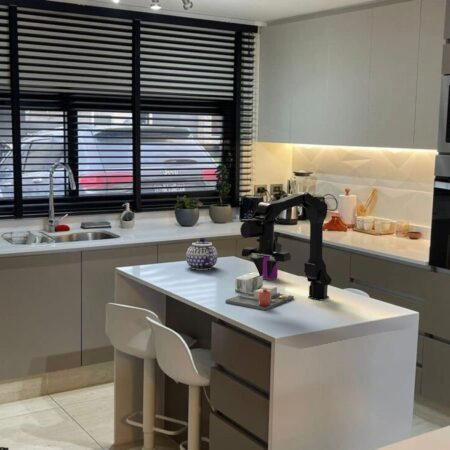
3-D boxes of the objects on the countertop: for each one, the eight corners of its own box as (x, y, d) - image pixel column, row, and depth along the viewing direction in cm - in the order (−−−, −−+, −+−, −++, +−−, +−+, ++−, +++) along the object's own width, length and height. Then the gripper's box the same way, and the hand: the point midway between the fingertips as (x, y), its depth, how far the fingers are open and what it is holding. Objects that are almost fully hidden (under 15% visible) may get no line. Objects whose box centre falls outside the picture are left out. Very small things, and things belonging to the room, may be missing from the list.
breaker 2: (276, 295, 281) (276, 286, 281) (271, 297, 278) (271, 288, 277) (266, 293, 284) (266, 285, 284) (260, 295, 281) (260, 287, 280)
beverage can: (265, 275, 322) (265, 250, 321) (280, 278, 319) (281, 252, 317) (257, 278, 316) (258, 252, 314) (272, 281, 312) (273, 254, 310)
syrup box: (251, 271, 303) (234, 277, 291) (263, 273, 300) (246, 279, 288) (251, 284, 304) (233, 291, 292) (263, 286, 301) (246, 293, 289)
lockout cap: (272, 304, 268) (272, 289, 267) (266, 306, 264) (266, 291, 263) (262, 302, 270) (262, 287, 269) (256, 304, 266) (256, 289, 266)
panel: (293, 299, 281) (293, 293, 281) (265, 310, 263) (265, 304, 263) (255, 292, 291) (255, 287, 291) (225, 302, 273) (225, 297, 273)
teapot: (225, 272, 328) (225, 241, 326) (194, 274, 323) (195, 243, 321) (208, 262, 351) (208, 232, 349) (179, 263, 346) (179, 234, 344)
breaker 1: (270, 299, 275) (271, 290, 274) (265, 301, 271) (265, 292, 271) (260, 297, 278) (260, 288, 277) (254, 299, 274) (254, 290, 274)
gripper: (298, 236, 265) (297, 276, 267) (256, 230, 275) (255, 269, 277) (283, 239, 256) (282, 281, 258) (240, 234, 266) (240, 274, 268)
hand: (265, 276), depth 265 cm, fingers open, 3 cm apart
